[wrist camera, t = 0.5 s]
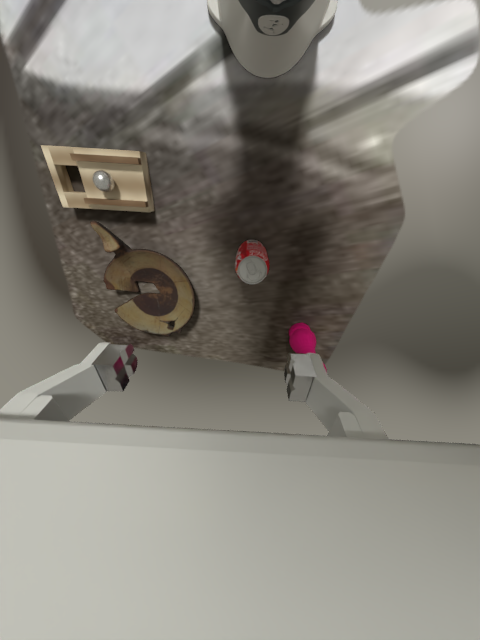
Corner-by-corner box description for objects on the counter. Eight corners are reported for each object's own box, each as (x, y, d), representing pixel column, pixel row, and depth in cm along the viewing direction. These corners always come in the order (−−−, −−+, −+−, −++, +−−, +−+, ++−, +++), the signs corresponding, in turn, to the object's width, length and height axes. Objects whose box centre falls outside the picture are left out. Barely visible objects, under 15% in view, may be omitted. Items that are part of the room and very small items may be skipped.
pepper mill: (290, 319, 61) (306, 371, 44) (315, 322, 61) (340, 375, 45) (284, 339, 65) (296, 393, 48) (307, 342, 65) (327, 397, 48)
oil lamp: (128, 325, 64) (114, 341, 58) (91, 215, 48) (67, 220, 41) (201, 327, 64) (196, 343, 57) (190, 217, 47) (181, 222, 41)
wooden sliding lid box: (53, 147, 41) (35, 144, 38) (145, 153, 41) (136, 150, 38) (72, 205, 47) (58, 207, 43) (154, 210, 47) (147, 213, 43)
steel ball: (97, 170, 40) (85, 169, 37) (115, 171, 40) (104, 170, 37) (102, 191, 42) (91, 192, 39) (120, 192, 42) (110, 193, 39)
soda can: (243, 271, 54) (242, 292, 44) (232, 245, 50) (228, 261, 40) (270, 261, 52) (275, 280, 42) (260, 233, 48) (263, 246, 38)
